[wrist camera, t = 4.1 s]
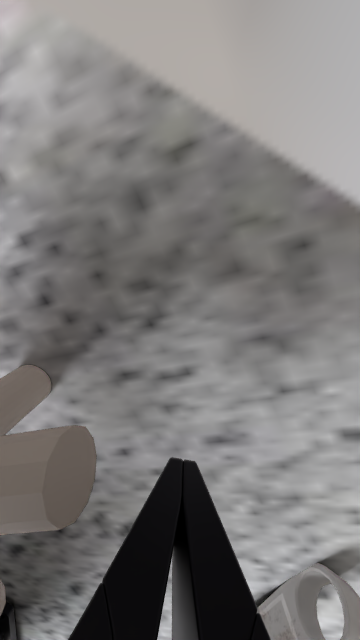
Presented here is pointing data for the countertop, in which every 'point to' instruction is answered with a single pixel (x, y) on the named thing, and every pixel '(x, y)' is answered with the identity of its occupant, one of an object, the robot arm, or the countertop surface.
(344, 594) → the wrench
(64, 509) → the pipe connector
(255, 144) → the countertop surface
